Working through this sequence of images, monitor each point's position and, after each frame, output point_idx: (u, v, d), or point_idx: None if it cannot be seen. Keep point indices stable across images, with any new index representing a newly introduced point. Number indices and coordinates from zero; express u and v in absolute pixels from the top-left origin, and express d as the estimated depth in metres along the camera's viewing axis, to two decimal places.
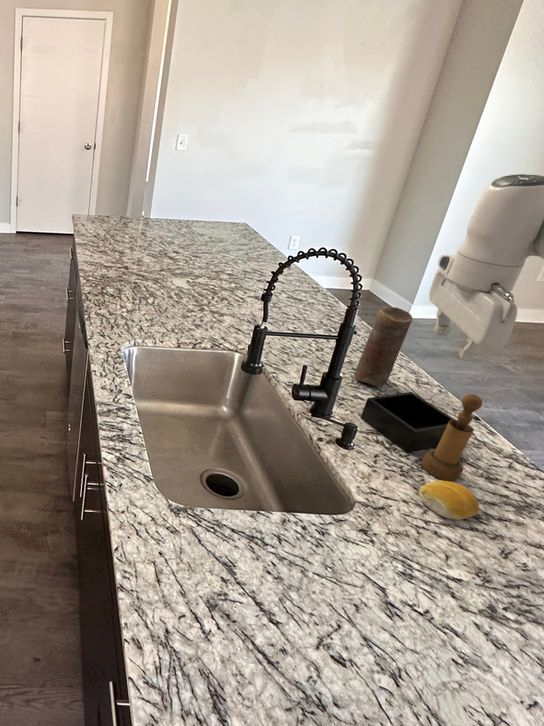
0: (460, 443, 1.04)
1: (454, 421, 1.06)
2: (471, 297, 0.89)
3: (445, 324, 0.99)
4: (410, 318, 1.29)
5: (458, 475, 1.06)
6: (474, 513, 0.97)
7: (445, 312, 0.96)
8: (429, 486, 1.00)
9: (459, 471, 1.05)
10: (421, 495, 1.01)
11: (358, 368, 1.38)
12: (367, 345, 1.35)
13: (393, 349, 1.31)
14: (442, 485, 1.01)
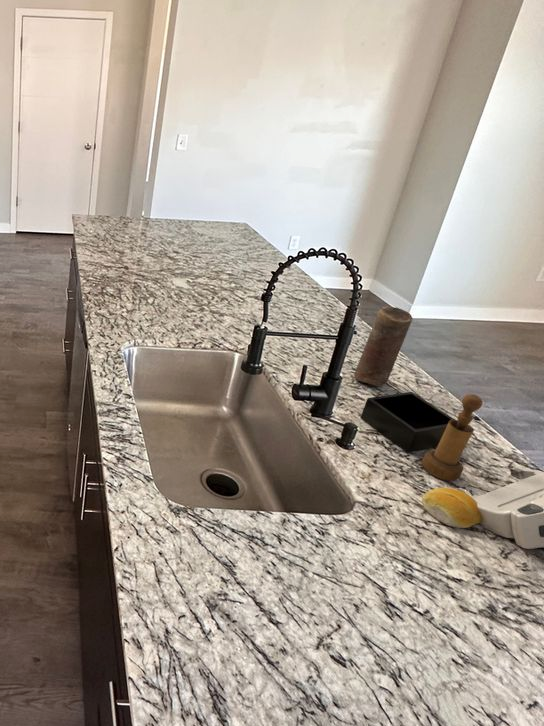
0: (460, 443, 1.04)
1: (454, 421, 1.06)
2: None
3: None
4: (410, 318, 1.29)
5: (458, 475, 1.06)
6: (478, 521, 0.96)
7: None
8: (432, 494, 0.99)
9: (459, 471, 1.05)
10: (425, 503, 0.99)
11: (358, 368, 1.38)
12: (367, 345, 1.35)
13: (393, 349, 1.31)
14: (445, 492, 0.99)
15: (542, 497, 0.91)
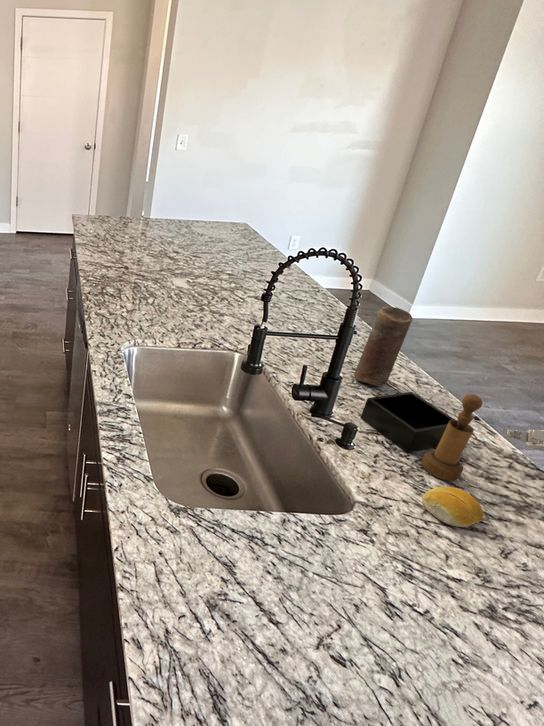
0: (460, 443, 1.04)
1: (454, 421, 1.06)
2: None
3: None
4: (410, 318, 1.29)
5: (458, 475, 1.06)
6: (479, 520, 0.95)
7: None
8: (433, 493, 0.99)
9: (459, 471, 1.05)
10: (425, 502, 0.99)
11: (358, 368, 1.38)
12: (367, 345, 1.35)
13: (393, 349, 1.31)
14: (446, 491, 0.99)
15: None
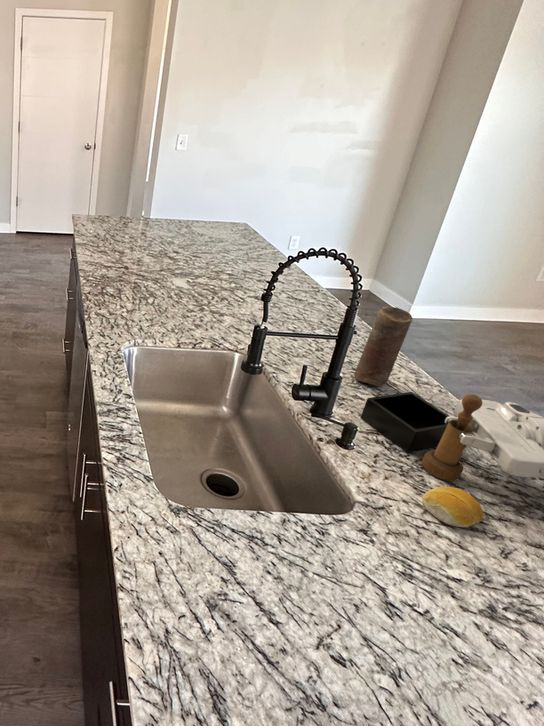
0: (460, 443, 1.04)
1: (454, 421, 1.06)
2: (527, 440, 1.00)
3: None
4: (410, 318, 1.29)
5: (458, 475, 1.06)
6: (479, 520, 0.95)
7: (480, 419, 1.05)
8: (433, 493, 0.99)
9: (459, 471, 1.05)
10: (425, 502, 0.99)
11: (358, 368, 1.38)
12: (367, 345, 1.35)
13: (393, 349, 1.31)
14: (446, 492, 0.99)
15: None
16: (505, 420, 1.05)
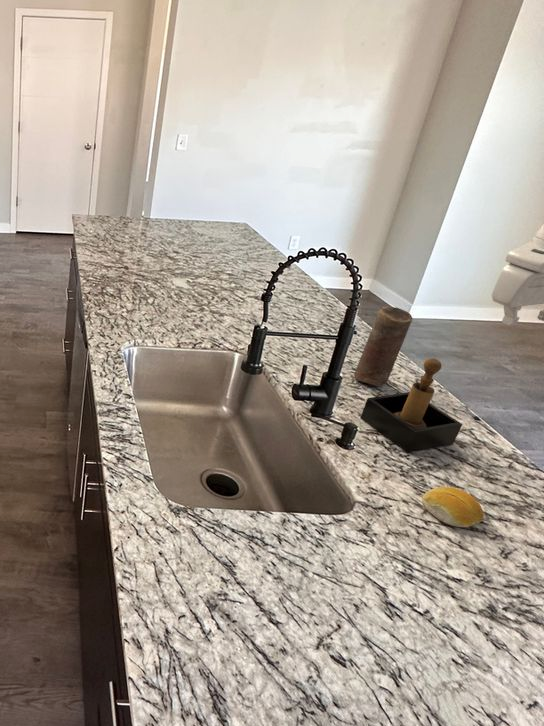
0: (422, 403, 1.15)
1: (418, 384, 1.17)
2: None
3: None
4: (410, 318, 1.29)
5: None
6: (479, 520, 0.95)
7: (539, 302, 1.01)
8: (433, 493, 0.99)
9: None
10: (425, 503, 0.99)
11: (358, 368, 1.38)
12: (367, 345, 1.35)
13: (393, 349, 1.31)
14: (446, 492, 0.99)
15: None
16: None
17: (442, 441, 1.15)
